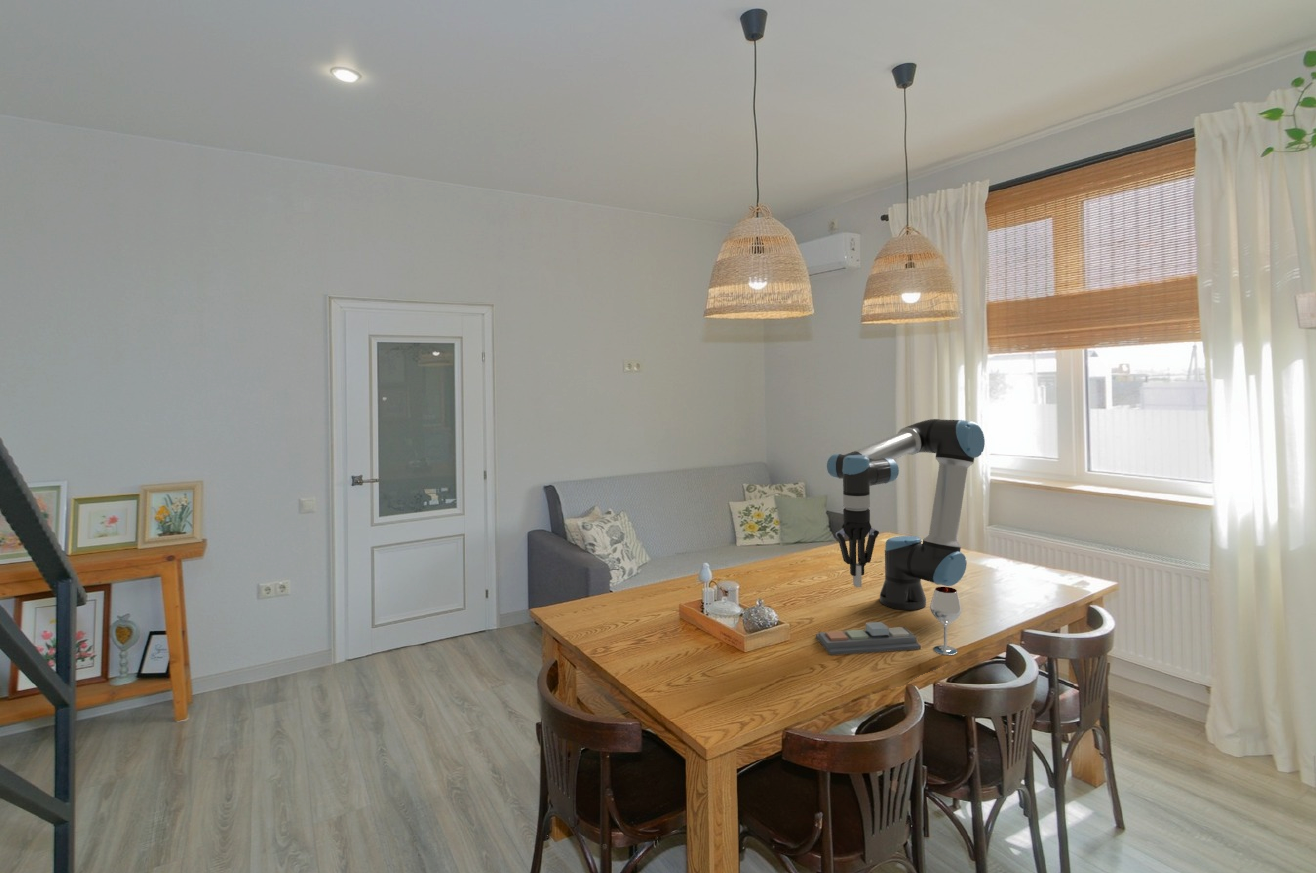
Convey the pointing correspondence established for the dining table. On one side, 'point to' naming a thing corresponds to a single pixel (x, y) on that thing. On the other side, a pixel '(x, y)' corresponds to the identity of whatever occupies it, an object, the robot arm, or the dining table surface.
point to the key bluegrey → (877, 628)
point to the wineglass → (945, 613)
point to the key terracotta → (836, 636)
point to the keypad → (869, 643)
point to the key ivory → (898, 632)
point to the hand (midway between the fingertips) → (857, 585)
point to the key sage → (856, 634)
